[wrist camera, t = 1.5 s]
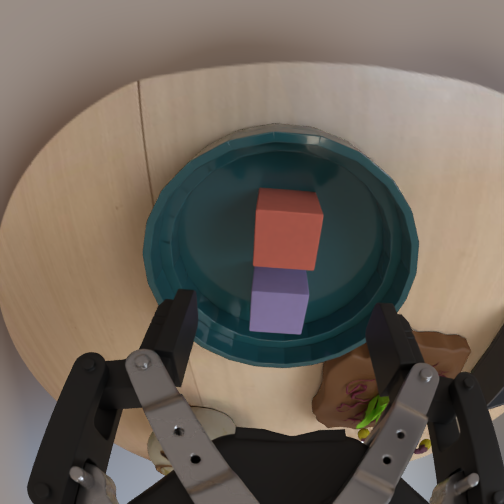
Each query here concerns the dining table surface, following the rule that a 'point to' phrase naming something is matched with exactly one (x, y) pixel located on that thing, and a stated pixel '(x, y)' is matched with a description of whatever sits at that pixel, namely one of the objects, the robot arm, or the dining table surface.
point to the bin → (492, 372)
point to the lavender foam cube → (278, 300)
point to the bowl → (242, 242)
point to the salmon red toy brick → (287, 229)
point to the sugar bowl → (212, 424)
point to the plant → (365, 387)
